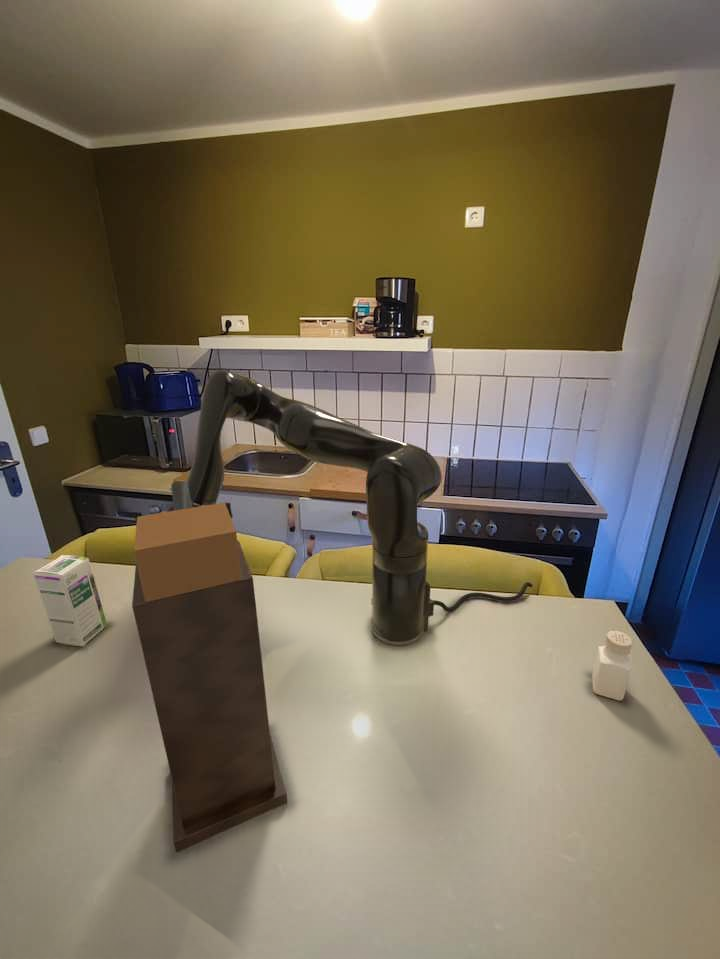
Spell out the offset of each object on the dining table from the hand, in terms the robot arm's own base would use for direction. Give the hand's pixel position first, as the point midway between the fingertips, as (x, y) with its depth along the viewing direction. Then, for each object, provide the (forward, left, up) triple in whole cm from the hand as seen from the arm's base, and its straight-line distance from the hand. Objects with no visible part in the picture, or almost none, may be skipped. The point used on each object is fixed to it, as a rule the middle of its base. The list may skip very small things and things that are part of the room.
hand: (184, 513), depth 64 cm
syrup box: (+20, -13, -26) cm, 35 cm away
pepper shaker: (-54, +34, -26) cm, 69 cm away
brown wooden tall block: (0, +25, -25) cm, 35 cm away
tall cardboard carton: (0, +17, +5) cm, 17 cm away
